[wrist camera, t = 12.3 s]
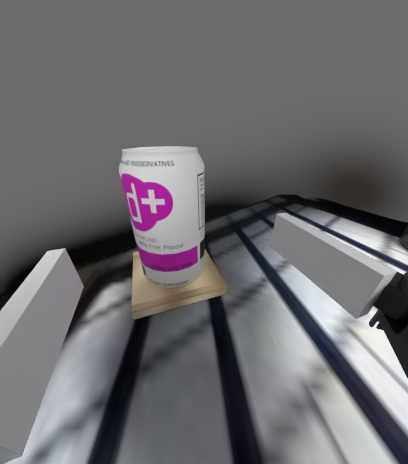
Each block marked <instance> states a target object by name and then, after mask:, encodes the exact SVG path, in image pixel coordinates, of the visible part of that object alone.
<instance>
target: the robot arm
mask: <svg viewBox="0 0 408 464" xmlns="http://www.w3.org/2000/svg"><path fill="white" fill-rule="evenodd" d="M400 242H401V243H402V244H403V245H404V246H405V247H406V248H407V249H408V226H407V227H406V228H405V230H404V231H403V233H402V234H401V236H400ZM270 246H271V247H272V248H273V249H274V250H275V251H277V252H278V253H279V254H280V255H281V256H283V257H284V258H285V259H286V260H287V261H288V262H290V263H291V264H292V265H293V266H294V267H296V268H297V269H298V270H299V271H300V272H301V273H303V274H304V275H305V276H306V277H307V278H309V279H310V280H311V281H312V282H313V283H314V284H316V285H317V286H318V287H319V288H320V289H322V290H323V291H324V292H325V293H326V294H327V295H329V296H330V297H331V298H332V299H333V300H335V301H336V302H337V303H338V304H339V305H340V306H342V307H343V308H344V309H345V310H346V311H348V312H349V313H350V314H351V315H352V316H354V317H355V318H356V319H357V318H359V317H362V316H364V315H366V314H368V312H369V311H370V310H371V308H372V307H373V305H374V306H375V307H376V308H378V309H379V310H378V311H377V312H376V314H375V315H374V316H373V318H372V319H371V320H370V322H369V325H370V327H373V326H374V325H375V323H376V322H377V321H379V324H378V325H377V327H376V328H377V329H381V330H384V332H385V334H386V336H387V338H388V340H389V342H390V344H391V346H392V348H393V350H394V352H395V354H396V356H397V358H398V360H399V362H400V364H401V366H402V368H403V370H404V372H405V374H406V376H407V378H408V272H407V273H405V274H404V275H403V274H401V273H399V272H397V271H395V270H393V269H391V268H389V267H387V266H386V265H384V264H382V263H380V262H378V261H376V260H374V259H372V258H370V257H369V256H366V255H365V254H363V253H361V252H359V251H357V250H355V249H353V248H352V247H350V246H348V245H346V244H344V243H342V242H340V241H338V240H336V239H334V238H332V237H331V236H329V235H327V234H325V233H323V232H321V231H319V230H317V229H315V228H314V227H312V226H310V225H308V224H306V223H304V222H302V221H300V220H298V219H297V218H295V217H293V216H291V215H289V214H287V213H280V214H276V219H275V224H274V229H273V234H272V239H271V243H270ZM83 287H84V286H83V284H82V282H81V280H80V278H79V276H78V274H77V272H76V270H75V268H74V266H73V263H72V262H71V259H70V257H69V255H68V253H67V252H66V249H65V248H64V249H58V250H52V251H47V253H46V254H45V255H44V256H43V258H42V259H41V260H40V261H39V263H38V264H37V265H36V267H35V268H34V269H33V270H32V272H31V273H30V274H29V276H28V277H27V278H26V279H25V281H24V282H23V283H22V284H21V286H20V287H19V288H18V289H17V291H16V292H15V293H14V295H13V296H12V297H11V298H10V300H9V301H8V302H7V303H6V305H5V306H4V307H3V309H2V310H1V311H0V464H3V463H6V462H8V461H11V460H13V459H15V458H18V457H20V456H22V454H23V451H24V448H25V446H26V443H27V440H28V437H29V435H30V432H31V429H32V426H33V424H34V421H35V418H36V416H37V413H38V410H39V407H40V405H41V402H42V399H43V396H44V394H45V391H46V388H47V385H48V383H49V380H50V377H51V374H52V372H53V369H54V366H55V364H56V361H57V358H58V355H59V353H60V350H61V347H62V344H63V342H64V339H65V336H66V333H67V331H68V328H69V325H70V322H71V320H72V317H73V314H74V312H75V309H76V306H77V303H78V301H79V298H80V295H81V292H82V290H83Z"/></svg>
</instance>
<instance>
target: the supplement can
mask: <svg viewBox="0 0 408 464" xmlns="http://www.w3.org/2000/svg"><path fill="white" fill-rule="evenodd" d="M122 153H123V155H122V159H121V162H120V166H119V173H120V177H121V181H122V185H123V190H124V194H125V198H126V202H127V206H128V210H129V214H130V219H131V223H132V227H133V231H134V235H135V239H136V244H137V248H138V252H139V256H140V260H141V264H142V269H143V273H144V275H145V277H146V278H147V280H148V281H149V282H151V283H152V284H154V285H156V286H160V287H166V288H177V287H182V286H185V285H187V284H189V283H191V282H193V281H194V280H196V279H197V278H198V277H200V275H201V274H202V272H203V271H204V268H205V204H204V163H203V161H202V159H201V158H200V155H199V153H198V149H197V148H195V147H173V146H171V147H170V146H169V147H143V148H131V149H124V150H122Z"/></svg>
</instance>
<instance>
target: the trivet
mask: <svg viewBox="0 0 408 464" xmlns="http://www.w3.org/2000/svg"><path fill="white" fill-rule="evenodd" d="M227 292H228V285H227V283H226V282H225V281H224V280H223V278H222V277H221V275H220V273H219V272H218V270H217V268H216V267H215V265H214V263H213V261H212V260H211V258H210V256H209V255H208V253H207V251H206V250H205V268H204V271H203V272H202V274H201V275H200V277H198V278H197V279H196V280H194V281H193V282H191V283H189V284H187V285H185V286H182V287H177V288H166V287H160V286H156V285H154V284H152V283H151V282H149V281H148V280H147V278H146V277H145V275H144V273H143V269H142V264H141V260H140V256H139V252H133V280H132V306H131V315H132V318H133V320H135V319H138V318H142V317H145V316H149V315H152V314H156V313H160V312H163V311H167V310H170V309H174V308H177V307H181V306H184V305H188V304H192V303H195V302H199V301H202V300H206V299H209V298H213V297H216V296H220V295H223V294H227Z"/></svg>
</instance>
